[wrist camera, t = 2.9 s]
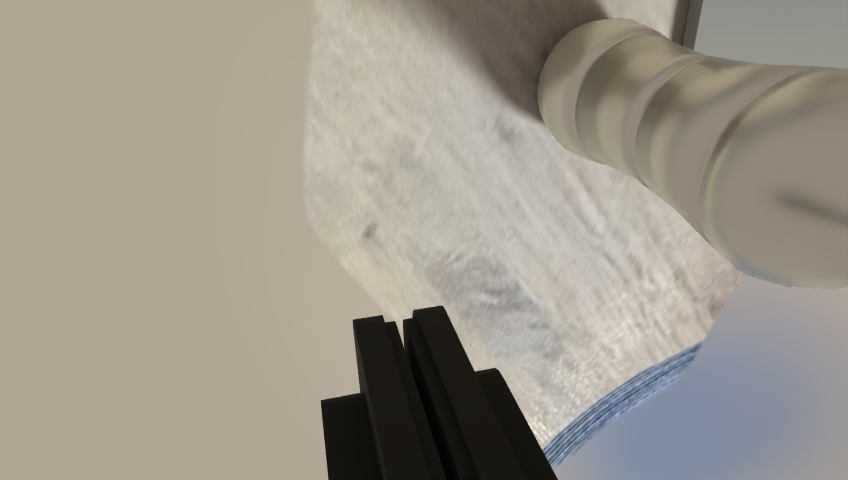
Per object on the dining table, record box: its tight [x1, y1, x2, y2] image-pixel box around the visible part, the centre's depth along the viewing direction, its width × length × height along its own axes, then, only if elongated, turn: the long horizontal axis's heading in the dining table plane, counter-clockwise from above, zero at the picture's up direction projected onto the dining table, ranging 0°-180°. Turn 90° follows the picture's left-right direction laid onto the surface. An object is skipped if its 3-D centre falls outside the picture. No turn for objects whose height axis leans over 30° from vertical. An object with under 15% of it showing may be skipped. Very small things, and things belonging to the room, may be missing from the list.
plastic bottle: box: [538, 18, 848, 289], centre depth 21 cm, size 6×7×20 cm
